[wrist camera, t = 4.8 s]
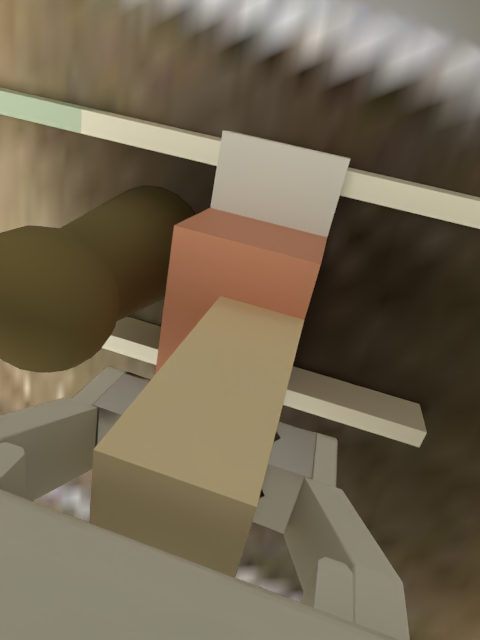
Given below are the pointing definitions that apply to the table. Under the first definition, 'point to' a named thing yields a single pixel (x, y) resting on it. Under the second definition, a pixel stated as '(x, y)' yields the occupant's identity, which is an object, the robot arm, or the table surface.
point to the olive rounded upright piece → (84, 277)
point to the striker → (221, 356)
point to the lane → (306, 386)
